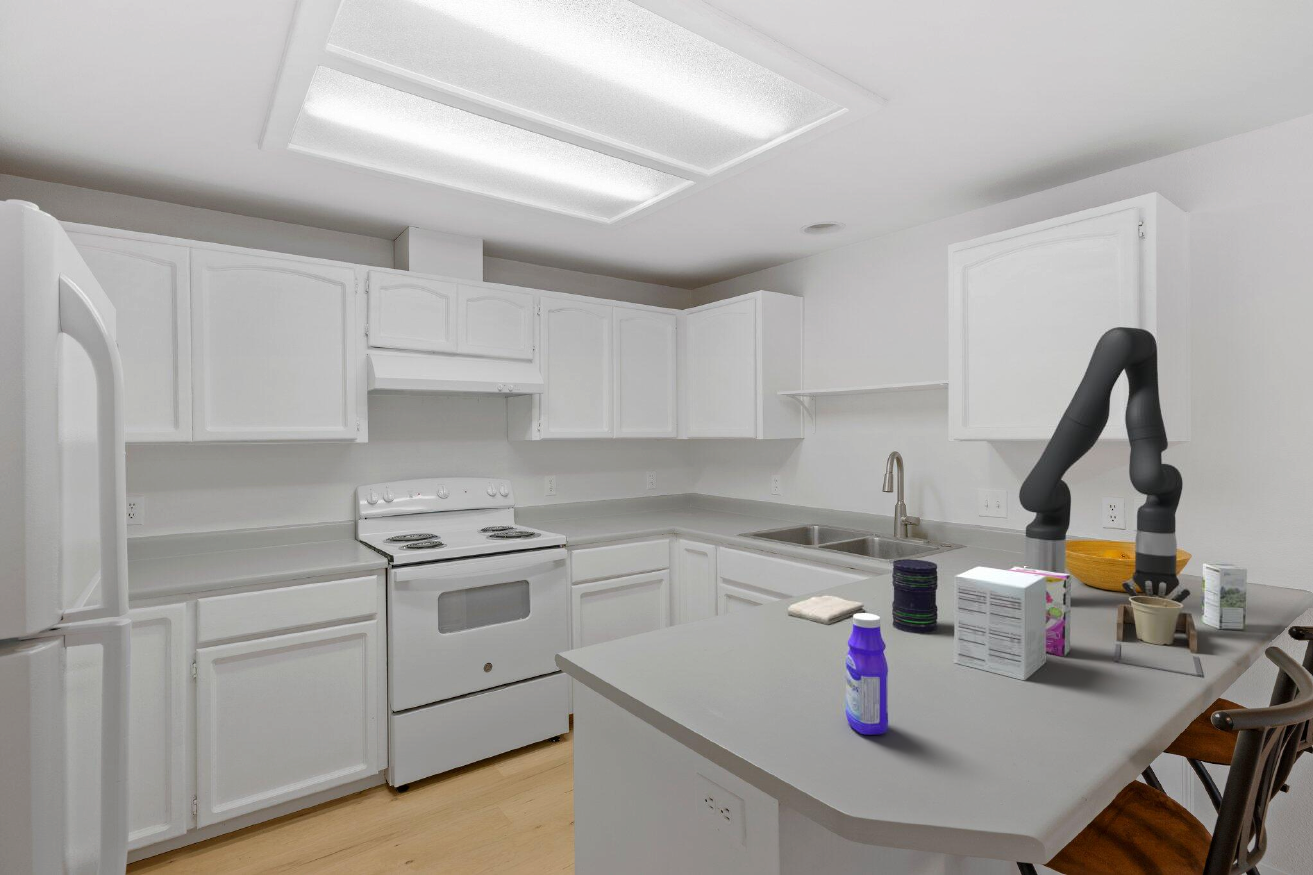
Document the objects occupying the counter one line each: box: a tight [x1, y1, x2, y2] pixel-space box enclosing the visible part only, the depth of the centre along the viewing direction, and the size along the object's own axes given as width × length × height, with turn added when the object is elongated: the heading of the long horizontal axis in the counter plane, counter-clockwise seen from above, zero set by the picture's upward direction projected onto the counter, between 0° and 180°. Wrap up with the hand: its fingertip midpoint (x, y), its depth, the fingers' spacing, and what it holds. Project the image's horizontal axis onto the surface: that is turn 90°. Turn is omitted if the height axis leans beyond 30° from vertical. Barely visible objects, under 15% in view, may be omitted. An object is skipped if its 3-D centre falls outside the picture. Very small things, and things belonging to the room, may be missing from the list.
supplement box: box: [953, 565, 1047, 681], centre depth 129 cm, size 13×13×18 cm
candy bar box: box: [1006, 566, 1072, 658], centre depth 137 cm, size 11×5×16 cm, turn 47°
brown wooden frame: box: [1116, 603, 1198, 654], centre depth 145 cm, size 14×18×4 cm
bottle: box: [845, 612, 889, 736], centre depth 101 cm, size 7×6×17 cm
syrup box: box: [1200, 562, 1248, 631], centre depth 152 cm, size 6×6×14 cm
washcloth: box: [787, 594, 865, 625], centre depth 164 cm, size 12×18×3 cm, turn 134°
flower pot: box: [1128, 595, 1184, 646], centre depth 142 cm, size 9×9×9 cm
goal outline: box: [1113, 643, 1204, 678], centre depth 130 cm, size 14×13×1 cm
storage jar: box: [891, 558, 939, 635], centre depth 152 cm, size 10×10×15 cm
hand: (1154, 626), depth 149 cm, fingers closed
